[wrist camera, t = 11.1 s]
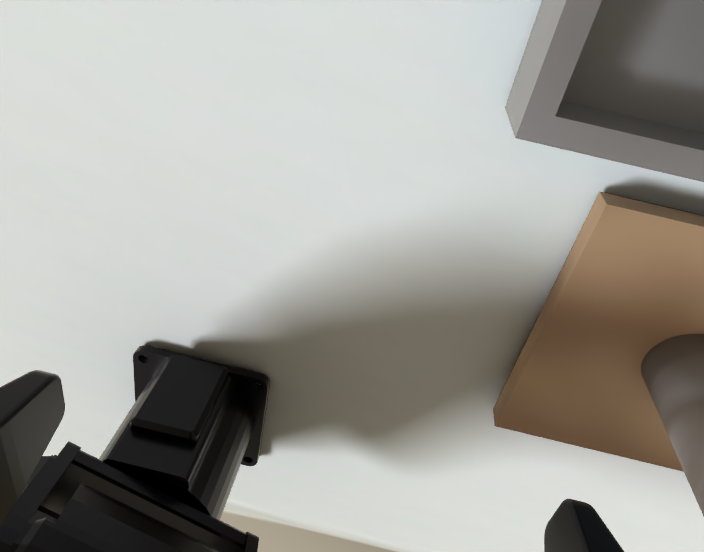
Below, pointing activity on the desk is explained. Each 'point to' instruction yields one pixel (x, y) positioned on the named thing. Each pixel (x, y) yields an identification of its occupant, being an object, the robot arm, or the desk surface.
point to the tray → (616, 82)
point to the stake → (621, 342)
